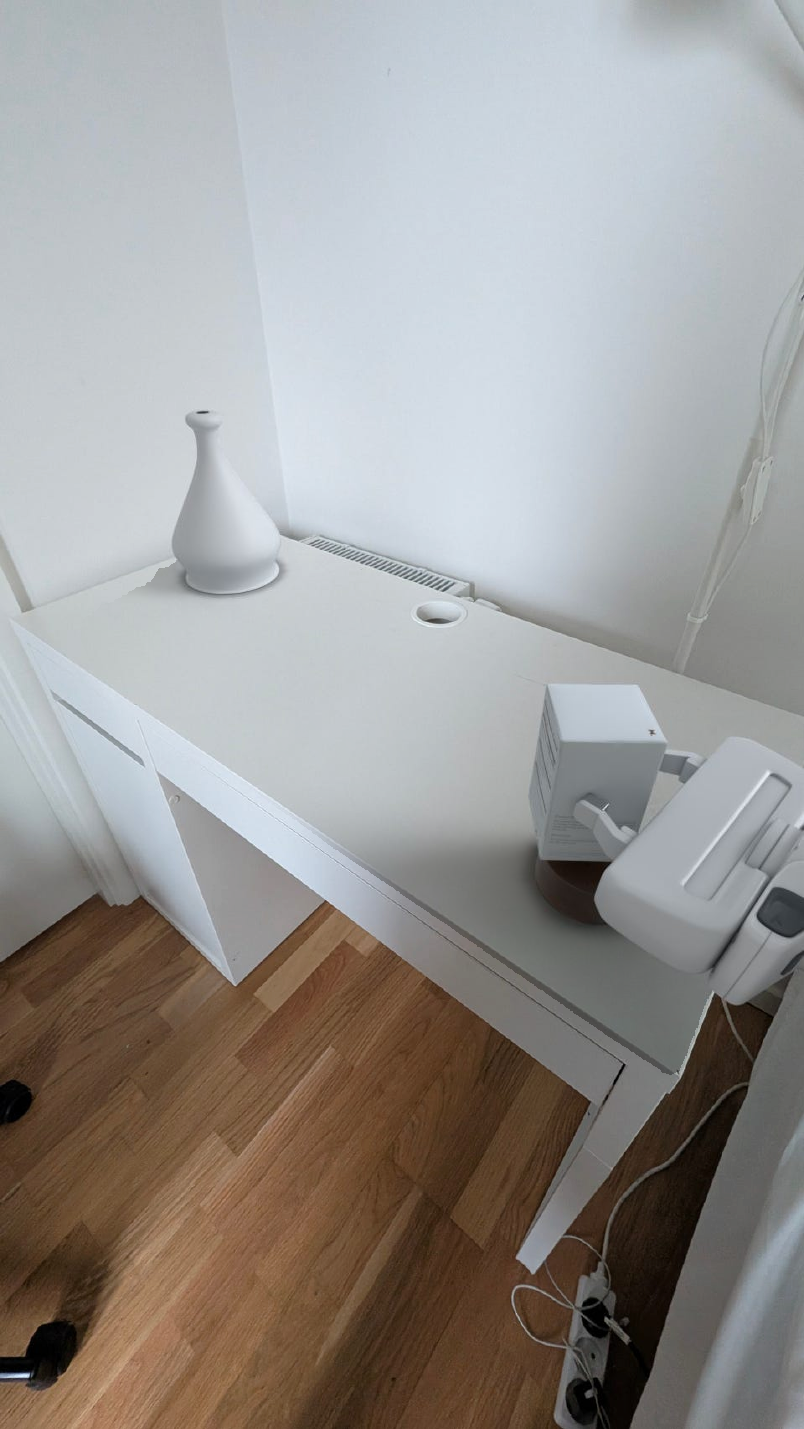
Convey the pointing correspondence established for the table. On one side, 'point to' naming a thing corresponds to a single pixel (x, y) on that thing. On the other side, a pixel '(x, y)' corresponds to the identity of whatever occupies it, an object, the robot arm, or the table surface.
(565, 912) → the walnut riser
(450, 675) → the table surface
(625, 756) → the white packaging box
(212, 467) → the vase
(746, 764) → the robot arm
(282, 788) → the table surface
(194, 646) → the table surface
